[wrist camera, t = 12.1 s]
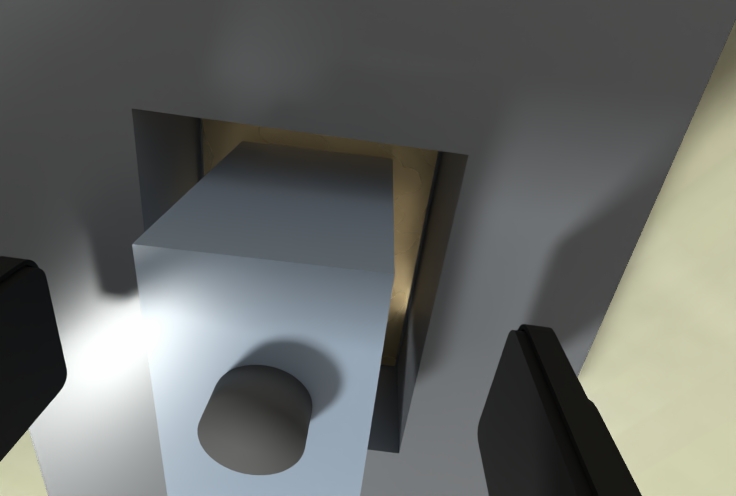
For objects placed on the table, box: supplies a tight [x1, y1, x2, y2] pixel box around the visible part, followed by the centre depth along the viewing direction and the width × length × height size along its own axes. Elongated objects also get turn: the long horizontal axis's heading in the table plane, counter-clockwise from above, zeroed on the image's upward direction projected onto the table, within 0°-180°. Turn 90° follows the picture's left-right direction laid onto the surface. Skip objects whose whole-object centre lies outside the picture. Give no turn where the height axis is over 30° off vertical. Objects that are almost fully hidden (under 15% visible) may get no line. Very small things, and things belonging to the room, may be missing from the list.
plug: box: [132, 141, 395, 496], centre depth 11 cm, size 4×6×7 cm, turn 174°
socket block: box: [0, 0, 736, 496], centre depth 13 cm, size 14×16×4 cm
